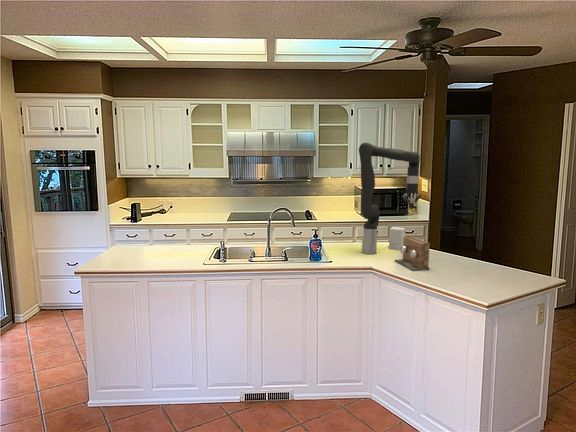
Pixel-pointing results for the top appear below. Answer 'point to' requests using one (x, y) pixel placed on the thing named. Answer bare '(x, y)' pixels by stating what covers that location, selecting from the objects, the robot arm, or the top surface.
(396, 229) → the supplement box
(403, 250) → the knob
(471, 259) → the top surface
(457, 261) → the top surface
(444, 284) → the top surface
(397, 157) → the robot arm
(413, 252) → the knob
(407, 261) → the knob panel
